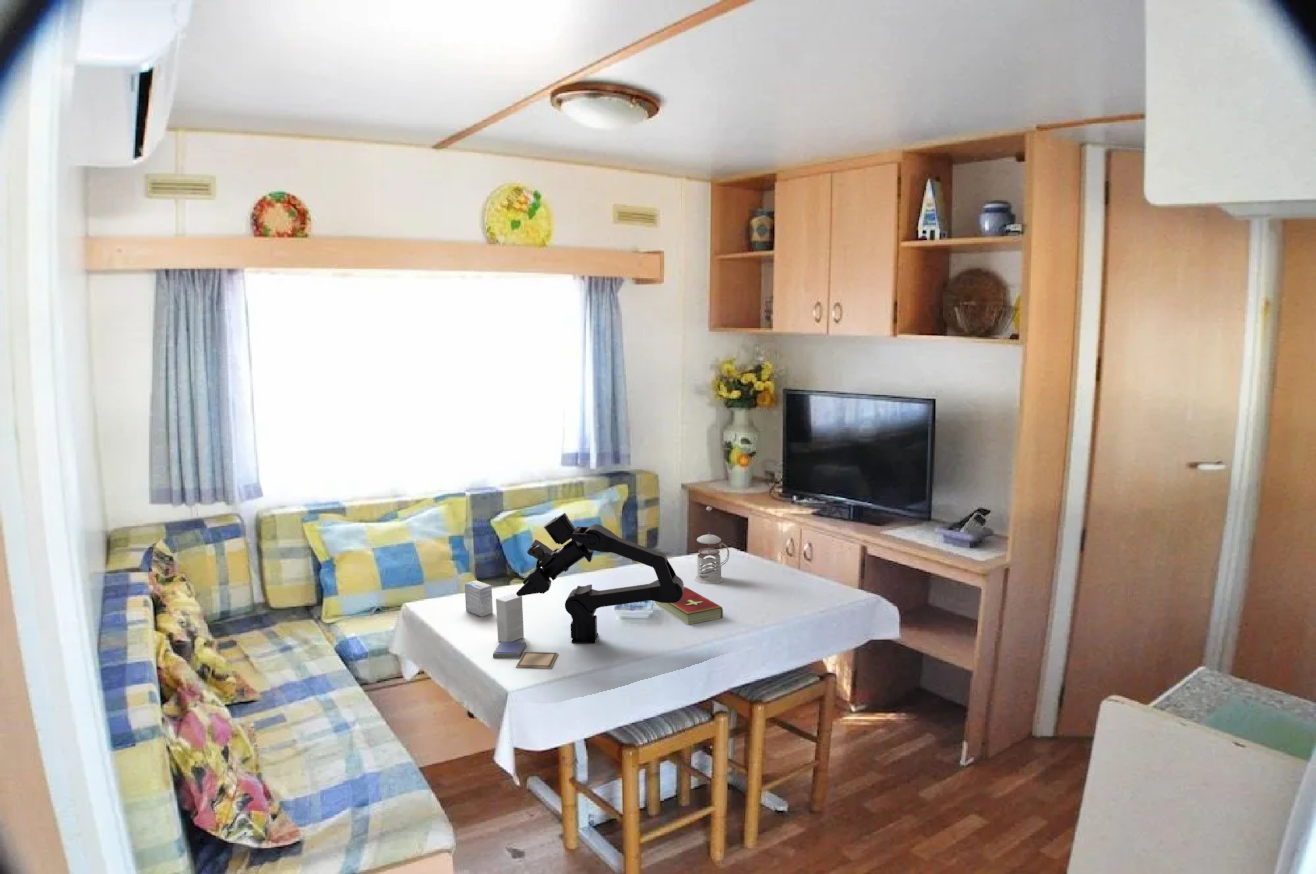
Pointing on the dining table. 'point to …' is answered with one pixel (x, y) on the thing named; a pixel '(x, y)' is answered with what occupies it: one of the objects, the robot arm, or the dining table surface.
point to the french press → (709, 560)
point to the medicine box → (478, 598)
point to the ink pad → (510, 649)
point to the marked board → (537, 660)
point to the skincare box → (509, 618)
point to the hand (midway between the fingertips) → (520, 589)
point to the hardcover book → (693, 608)
